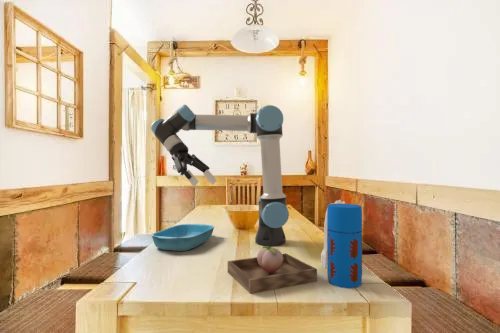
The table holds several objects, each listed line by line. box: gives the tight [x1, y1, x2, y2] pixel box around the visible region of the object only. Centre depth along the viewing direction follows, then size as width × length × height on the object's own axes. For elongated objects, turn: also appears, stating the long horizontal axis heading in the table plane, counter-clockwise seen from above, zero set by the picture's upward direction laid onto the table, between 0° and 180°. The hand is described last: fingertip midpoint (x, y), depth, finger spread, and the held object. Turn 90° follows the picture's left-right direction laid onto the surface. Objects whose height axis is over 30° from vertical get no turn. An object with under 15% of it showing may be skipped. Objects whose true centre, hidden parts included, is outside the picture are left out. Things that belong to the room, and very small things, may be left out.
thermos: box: [326, 203, 363, 289], centre depth 101 cm, size 11×11×25 cm
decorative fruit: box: [256, 245, 283, 274], centre depth 106 cm, size 9×8×10 cm
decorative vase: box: [320, 199, 346, 269], centre depth 117 cm, size 11×11×25 cm
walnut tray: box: [227, 253, 318, 294], centre depth 106 cm, size 24×20×4 cm
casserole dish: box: [151, 223, 215, 252], centre depth 151 cm, size 37×22×7 cm, turn 164°
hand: (205, 183), depth 128 cm, fingers open, 13 cm apart
